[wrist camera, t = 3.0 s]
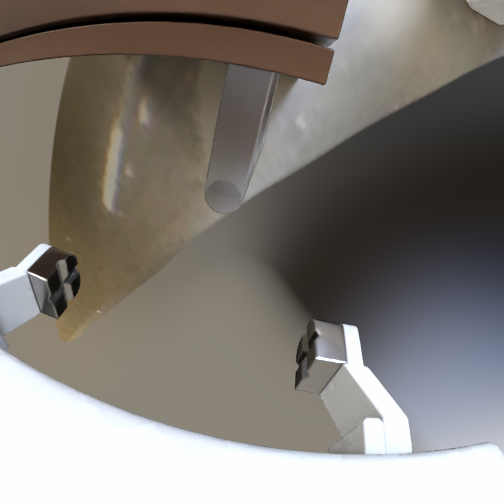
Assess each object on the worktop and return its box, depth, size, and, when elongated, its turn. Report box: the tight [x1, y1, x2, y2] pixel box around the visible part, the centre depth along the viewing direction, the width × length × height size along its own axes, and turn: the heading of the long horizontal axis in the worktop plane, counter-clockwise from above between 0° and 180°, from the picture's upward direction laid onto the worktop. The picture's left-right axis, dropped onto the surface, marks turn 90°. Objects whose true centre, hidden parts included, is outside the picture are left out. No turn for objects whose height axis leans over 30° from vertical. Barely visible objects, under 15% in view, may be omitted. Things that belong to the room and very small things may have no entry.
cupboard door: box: [0, 22, 334, 214], centre depth 17 cm, size 8×18×22 cm, turn 78°
